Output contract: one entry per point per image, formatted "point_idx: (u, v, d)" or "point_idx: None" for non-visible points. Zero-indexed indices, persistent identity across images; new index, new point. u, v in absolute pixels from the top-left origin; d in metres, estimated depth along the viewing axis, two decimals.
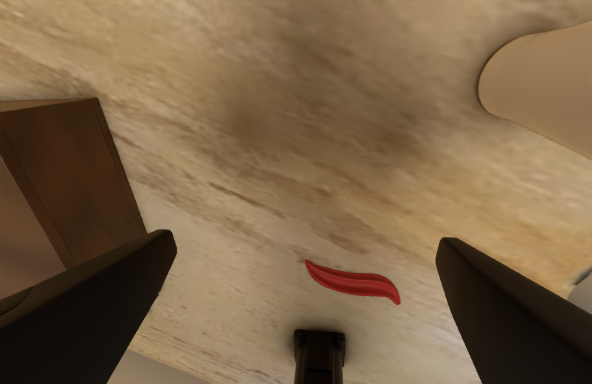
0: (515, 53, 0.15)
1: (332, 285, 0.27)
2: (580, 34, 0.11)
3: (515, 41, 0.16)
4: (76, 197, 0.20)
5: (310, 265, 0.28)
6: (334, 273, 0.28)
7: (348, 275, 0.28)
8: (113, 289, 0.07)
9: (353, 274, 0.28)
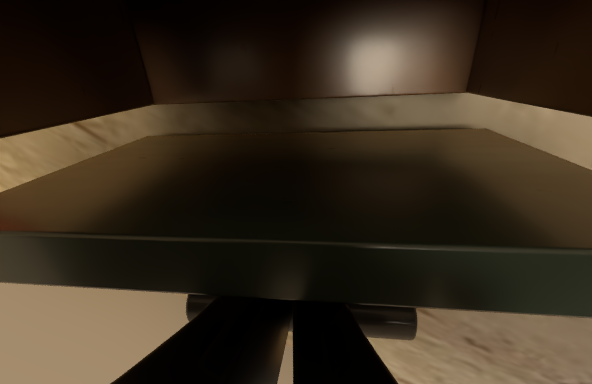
0: None
1: None
2: None
3: None
4: None
5: None
6: None
7: None
8: (280, 299, 0.06)
9: None
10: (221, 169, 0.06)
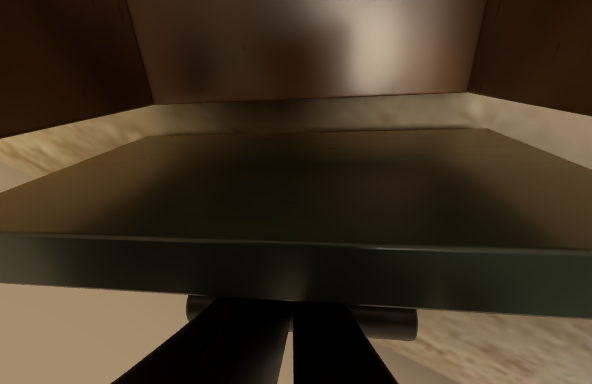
0: None
1: None
2: None
3: None
4: None
5: None
6: None
7: None
8: None
9: None
10: (221, 169, 0.06)
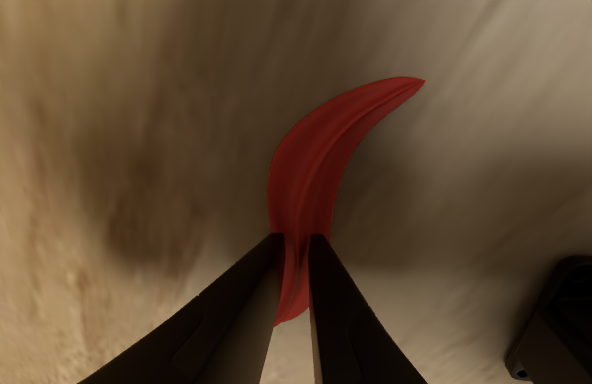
0: None
1: (286, 302, 0.10)
2: None
3: None
4: None
5: None
6: None
7: None
8: (262, 298, 0.06)
9: None
10: None
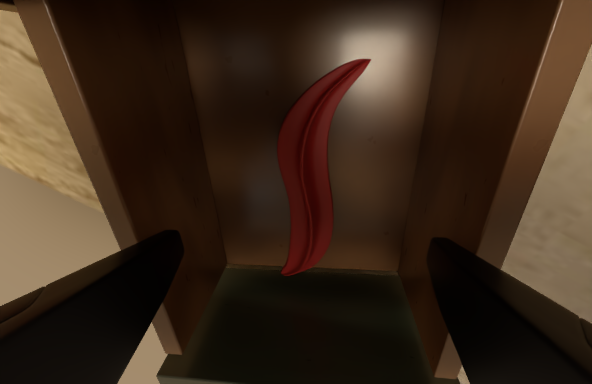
0: None
1: (308, 244, 0.13)
2: None
3: None
4: None
5: (287, 268, 0.15)
6: None
7: None
8: (123, 290, 0.07)
9: None
10: (274, 324, 0.13)
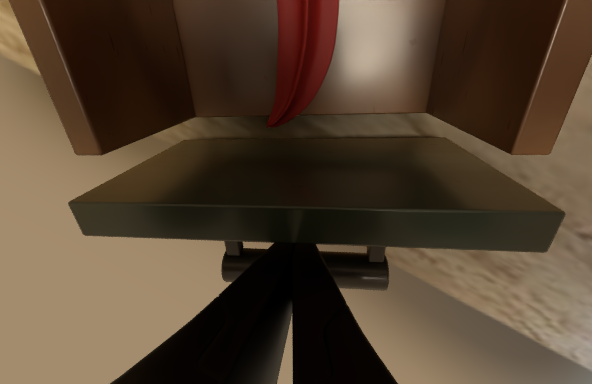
0: None
1: (302, 40, 0.09)
2: None
3: None
4: None
5: (274, 114, 0.11)
6: None
7: None
8: (280, 299, 0.06)
9: None
10: (253, 166, 0.09)
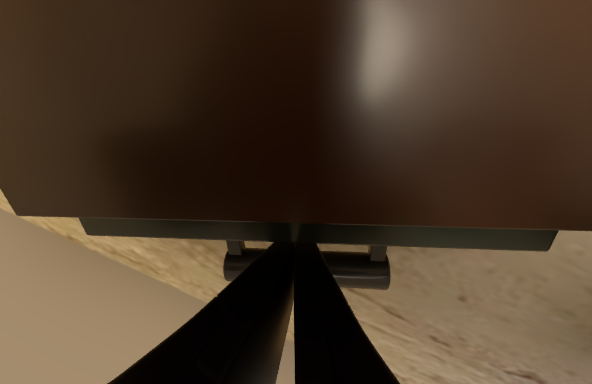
0: None
1: None
2: None
3: None
4: None
5: None
6: None
7: None
8: (279, 299, 0.06)
9: None
10: None
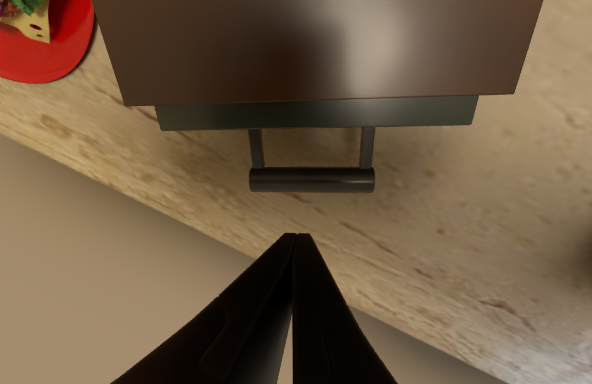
0: None
1: None
2: None
3: None
4: None
5: None
6: None
7: None
8: (280, 299, 0.06)
9: None
10: None
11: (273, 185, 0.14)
